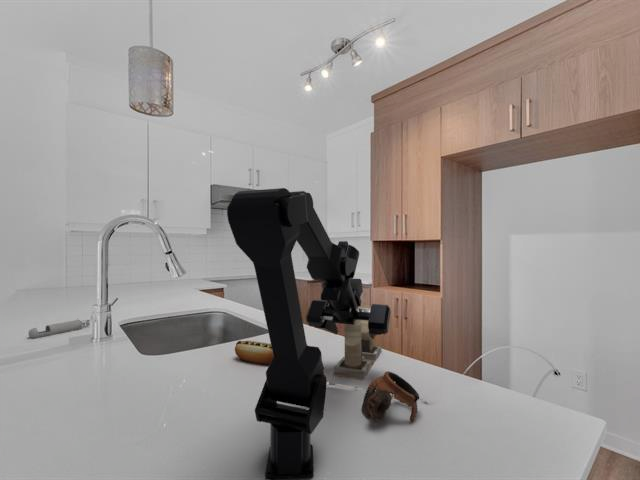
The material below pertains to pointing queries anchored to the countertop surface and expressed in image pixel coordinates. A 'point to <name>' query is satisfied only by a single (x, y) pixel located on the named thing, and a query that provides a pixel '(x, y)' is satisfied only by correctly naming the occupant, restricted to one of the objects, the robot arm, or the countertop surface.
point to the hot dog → (254, 351)
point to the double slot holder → (366, 365)
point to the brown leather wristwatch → (388, 395)
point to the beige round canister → (353, 345)
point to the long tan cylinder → (365, 333)
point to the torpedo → (58, 328)
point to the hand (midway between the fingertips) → (354, 334)
